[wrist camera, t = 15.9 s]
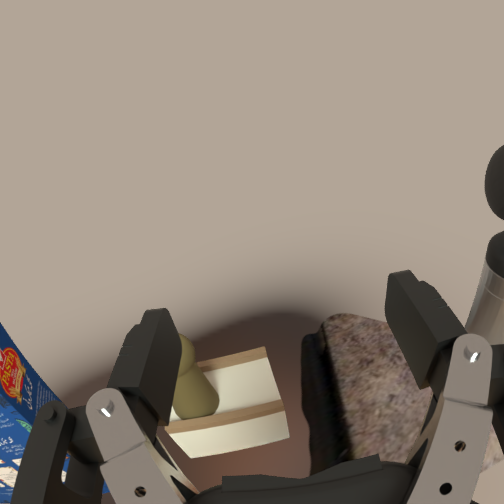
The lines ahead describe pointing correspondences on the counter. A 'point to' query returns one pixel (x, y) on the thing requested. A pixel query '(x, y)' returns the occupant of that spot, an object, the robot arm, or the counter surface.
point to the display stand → (235, 408)
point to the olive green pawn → (193, 387)
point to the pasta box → (18, 412)
